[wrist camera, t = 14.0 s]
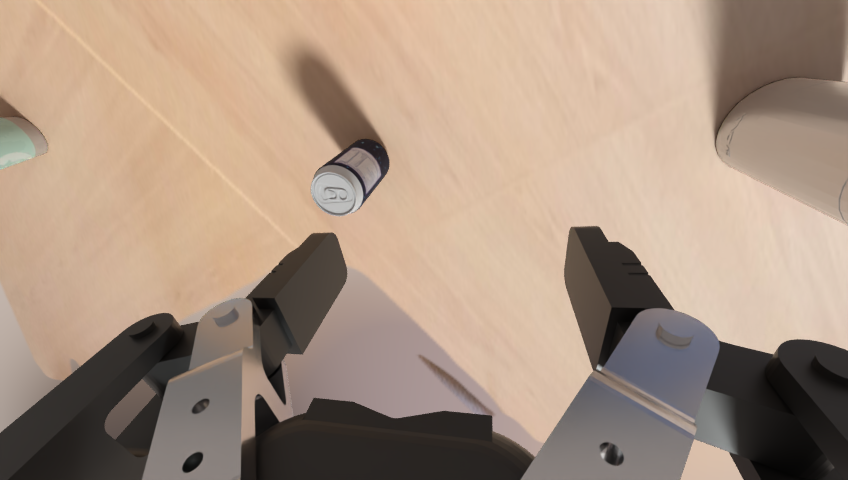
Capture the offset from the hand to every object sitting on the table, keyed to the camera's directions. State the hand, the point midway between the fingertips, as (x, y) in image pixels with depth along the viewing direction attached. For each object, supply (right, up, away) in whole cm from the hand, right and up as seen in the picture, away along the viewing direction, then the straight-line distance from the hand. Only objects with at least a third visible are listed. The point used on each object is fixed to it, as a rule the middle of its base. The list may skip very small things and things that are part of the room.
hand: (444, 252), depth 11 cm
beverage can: (-8, +11, +31) cm, 34 cm away
